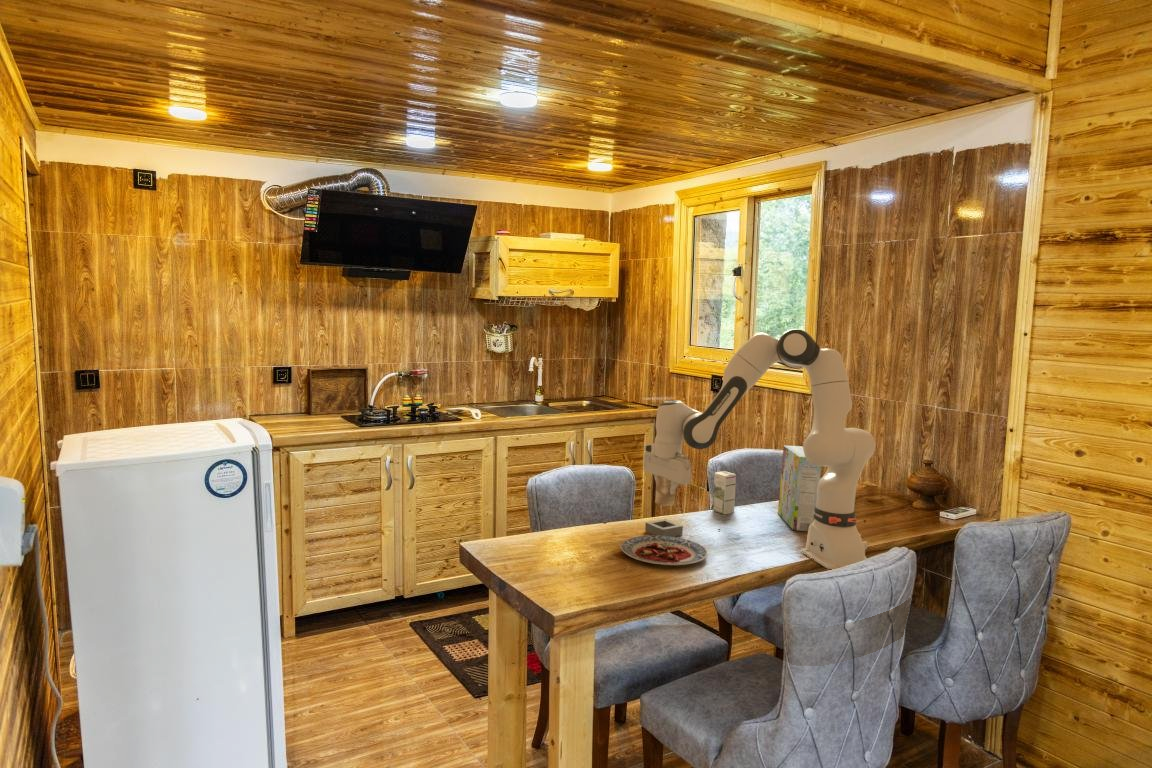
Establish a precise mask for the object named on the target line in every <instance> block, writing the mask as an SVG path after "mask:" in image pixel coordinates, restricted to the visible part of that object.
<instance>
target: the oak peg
mask: <svg viewBox="0 0 1152 768" xmlns="http://www.w3.org/2000/svg"><path fill="white" fill-rule="evenodd" d="M655 485H656V486H655V500H654V503H655V504H657V505H660V506H662V507H668V506H674V505H675V501H676V500H675V497H676V493H675V494H669V493H668V488H670V487H671V485H672V484H671V481H670V480H667V479H666V478H663V477H660V476H657V481H655Z"/></svg>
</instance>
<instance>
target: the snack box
mask: <svg viewBox="0 0 1152 768" xmlns="http://www.w3.org/2000/svg"><path fill="white" fill-rule="evenodd" d="M822 467H823V466H818V465H814V464H812V463H810V462H809V461H808V460H807V459H806V457H805V455H804V451H803V445H802V446H800V445H785V444H784V445H783V449H782V461H781V473H780V483H779V485H780V486H779V495H778V496H779V498H778V507H777V508H778V509H777V514H778V515H779V516H780V517H781V519H783V521H784V522H785V523H786V524H787V525H788V526H789V528H790V529H791V530H792V531H799V532H808V529H809V526H810V525H811V524H812V523H813V521H814V508H815V506H816V501H817V488H818V482H819V480H820V479H821V476H822V475H821V474H822Z"/></svg>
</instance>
